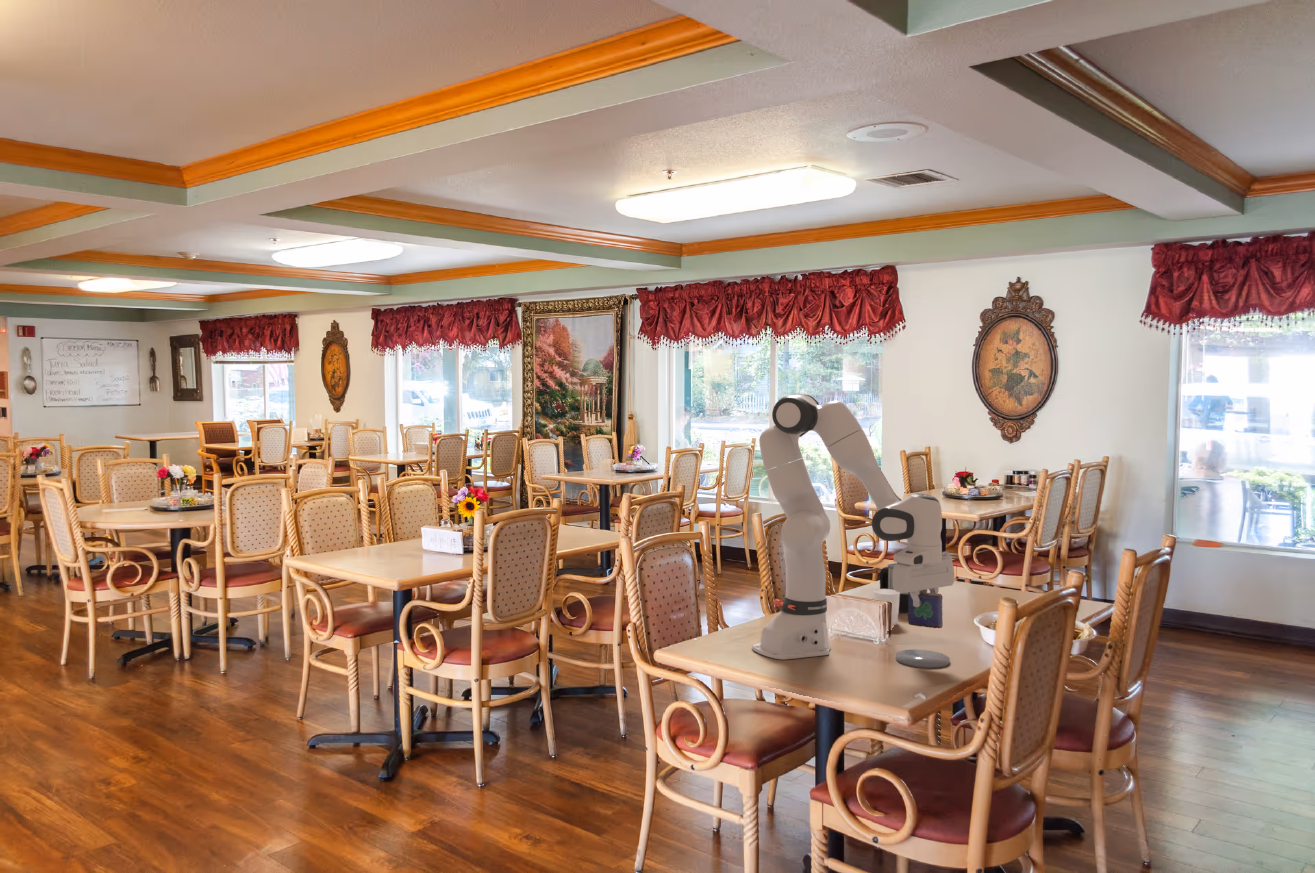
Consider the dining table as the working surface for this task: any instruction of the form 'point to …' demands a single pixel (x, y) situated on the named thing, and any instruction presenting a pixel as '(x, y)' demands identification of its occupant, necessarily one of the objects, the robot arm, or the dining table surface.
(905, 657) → the plate
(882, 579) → the milk frother
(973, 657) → the dining table surface
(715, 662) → the dining table surface
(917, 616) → the flask
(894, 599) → the white cup
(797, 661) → the dining table surface
